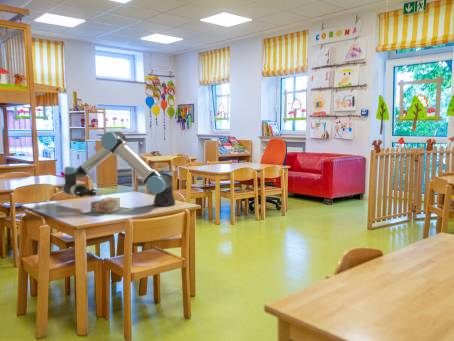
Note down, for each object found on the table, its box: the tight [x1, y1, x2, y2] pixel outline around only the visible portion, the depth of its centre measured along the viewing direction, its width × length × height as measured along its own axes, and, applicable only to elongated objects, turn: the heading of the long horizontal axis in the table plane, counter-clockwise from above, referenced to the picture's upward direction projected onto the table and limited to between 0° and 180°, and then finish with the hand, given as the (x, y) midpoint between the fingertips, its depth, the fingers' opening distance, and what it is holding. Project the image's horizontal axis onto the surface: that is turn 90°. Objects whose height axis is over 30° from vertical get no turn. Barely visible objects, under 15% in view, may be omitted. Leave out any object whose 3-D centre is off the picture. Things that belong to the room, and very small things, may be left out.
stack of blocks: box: [90, 197, 121, 214], centre depth 269 cm, size 21×6×12 cm
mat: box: [82, 206, 130, 217], centre depth 266 cm, size 13×28×1 cm, turn 150°
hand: (99, 194), depth 266 cm, fingers closed
